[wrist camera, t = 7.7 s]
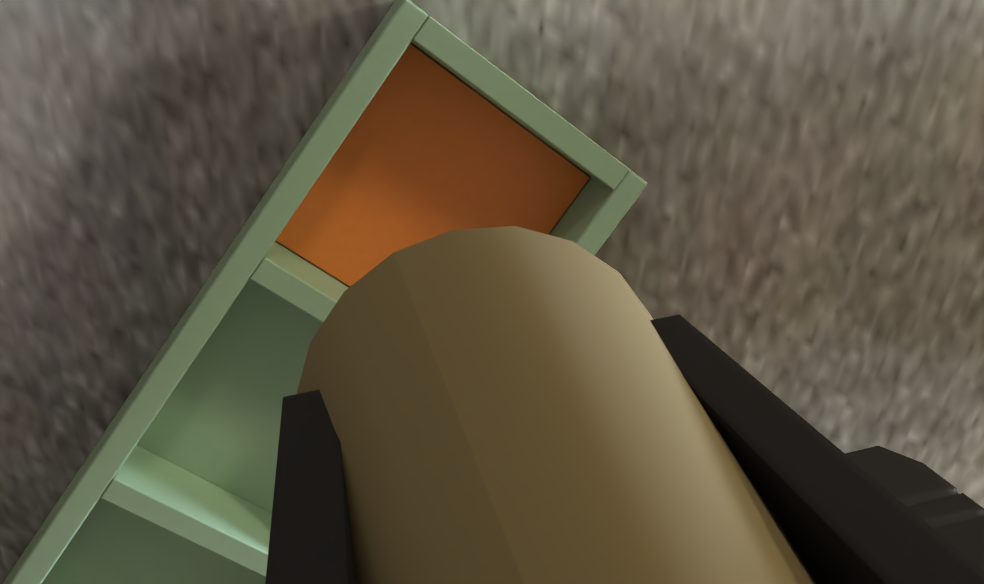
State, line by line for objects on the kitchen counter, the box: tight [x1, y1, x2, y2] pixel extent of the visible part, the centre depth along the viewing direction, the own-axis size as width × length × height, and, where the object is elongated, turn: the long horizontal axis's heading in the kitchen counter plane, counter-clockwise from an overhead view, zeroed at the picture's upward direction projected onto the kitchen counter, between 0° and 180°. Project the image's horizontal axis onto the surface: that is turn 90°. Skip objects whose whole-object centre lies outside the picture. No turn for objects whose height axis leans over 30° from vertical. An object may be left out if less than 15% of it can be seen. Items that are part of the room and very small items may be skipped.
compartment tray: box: [2, 0, 647, 584], centre depth 29 cm, size 9×26×3 cm, turn 144°
